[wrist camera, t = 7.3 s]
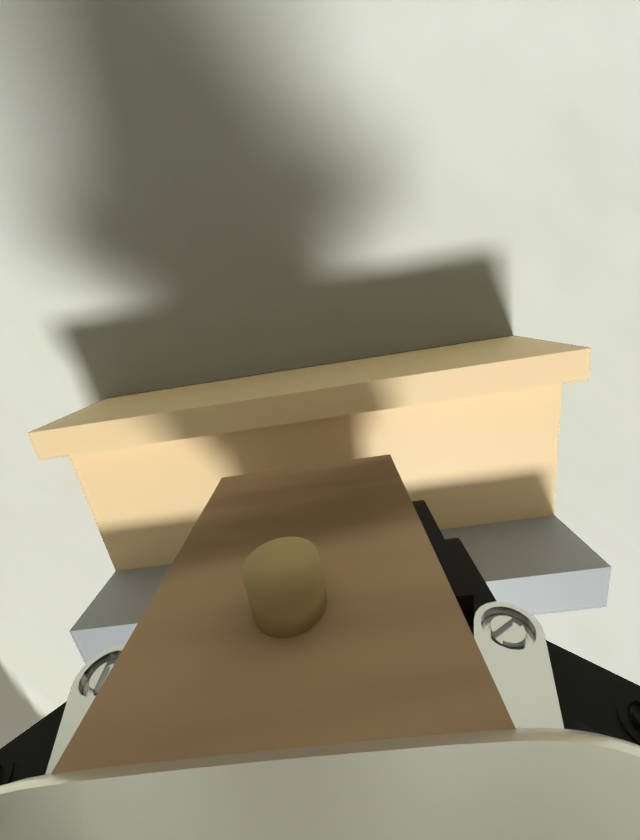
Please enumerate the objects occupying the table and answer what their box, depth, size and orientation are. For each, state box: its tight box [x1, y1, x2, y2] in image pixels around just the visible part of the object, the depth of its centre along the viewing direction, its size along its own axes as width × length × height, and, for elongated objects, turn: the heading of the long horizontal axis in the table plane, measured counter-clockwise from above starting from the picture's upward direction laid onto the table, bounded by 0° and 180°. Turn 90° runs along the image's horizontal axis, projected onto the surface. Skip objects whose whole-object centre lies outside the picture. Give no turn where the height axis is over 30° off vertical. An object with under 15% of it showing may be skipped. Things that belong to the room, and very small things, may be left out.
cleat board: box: [27, 336, 611, 664], centre depth 17 cm, size 10×22×8 cm, turn 99°
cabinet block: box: [51, 454, 516, 775], centre depth 9 cm, size 6×6×9 cm
